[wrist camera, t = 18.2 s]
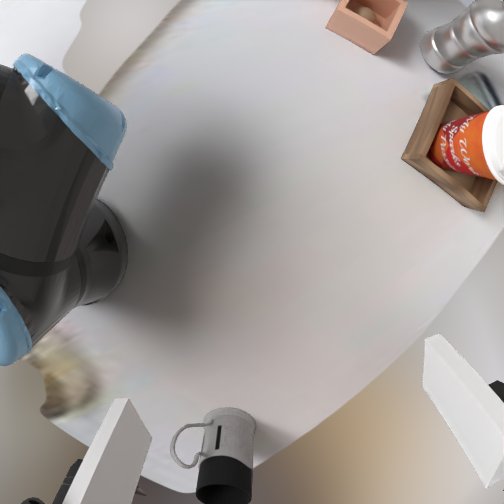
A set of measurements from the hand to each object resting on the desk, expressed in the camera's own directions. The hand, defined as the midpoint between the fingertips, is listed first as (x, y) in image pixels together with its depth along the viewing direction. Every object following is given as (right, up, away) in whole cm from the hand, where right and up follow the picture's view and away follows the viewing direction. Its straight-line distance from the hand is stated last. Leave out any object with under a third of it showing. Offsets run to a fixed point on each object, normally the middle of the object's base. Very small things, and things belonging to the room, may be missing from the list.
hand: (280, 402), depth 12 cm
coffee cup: (+24, +20, +24) cm, 39 cm away
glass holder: (-7, -20, +36) cm, 42 cm away
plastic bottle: (+24, +33, +21) cm, 46 cm away
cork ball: (+13, +36, +19) cm, 43 cm away
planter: (+13, +36, +20) cm, 43 cm away
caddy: (+26, +21, +24) cm, 41 cm away
